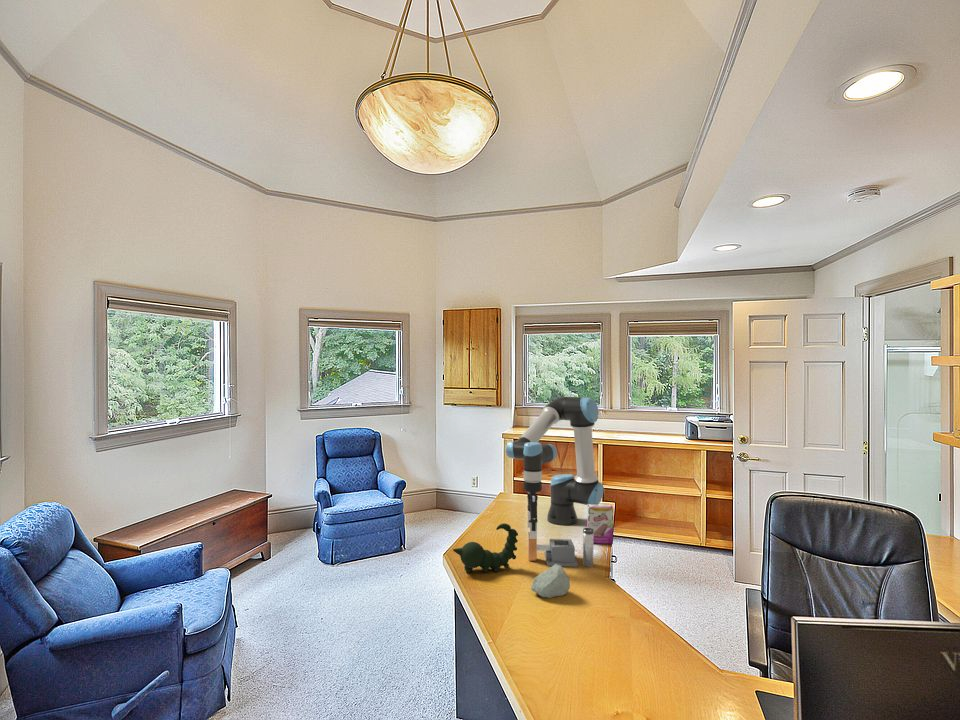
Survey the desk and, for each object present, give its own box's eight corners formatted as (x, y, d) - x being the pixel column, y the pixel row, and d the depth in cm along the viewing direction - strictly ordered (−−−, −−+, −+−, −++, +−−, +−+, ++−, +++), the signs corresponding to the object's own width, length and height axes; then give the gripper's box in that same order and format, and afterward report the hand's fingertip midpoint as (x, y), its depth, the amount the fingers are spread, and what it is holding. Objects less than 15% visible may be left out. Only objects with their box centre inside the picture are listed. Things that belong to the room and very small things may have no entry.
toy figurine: (510, 567, 196) (449, 566, 191) (514, 520, 196) (453, 518, 192) (516, 577, 187) (452, 576, 182) (521, 527, 187) (457, 525, 182)
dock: (544, 554, 205) (544, 537, 205) (573, 554, 205) (573, 538, 205) (547, 566, 193) (547, 548, 193) (577, 566, 193) (577, 548, 193)
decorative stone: (570, 586, 175) (554, 561, 178) (578, 588, 165) (560, 561, 168) (541, 608, 172) (525, 582, 175) (547, 612, 162) (530, 584, 165)
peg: (582, 562, 197) (582, 527, 197) (592, 562, 197) (592, 527, 197) (584, 566, 193) (584, 531, 193) (594, 566, 193) (594, 531, 193)
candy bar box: (588, 543, 217) (588, 507, 218) (586, 539, 222) (586, 503, 223) (613, 544, 216) (613, 507, 216) (611, 540, 221) (611, 504, 221)
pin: (528, 557, 201) (528, 532, 201) (567, 558, 201) (567, 532, 201) (528, 560, 198) (528, 534, 198) (568, 561, 197) (568, 535, 197)
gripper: (521, 474, 212) (521, 523, 212) (525, 487, 187) (524, 543, 187) (539, 474, 212) (538, 523, 212) (544, 488, 187) (544, 543, 187)
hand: (532, 532), depth 199 cm, fingers open, 13 cm apart
